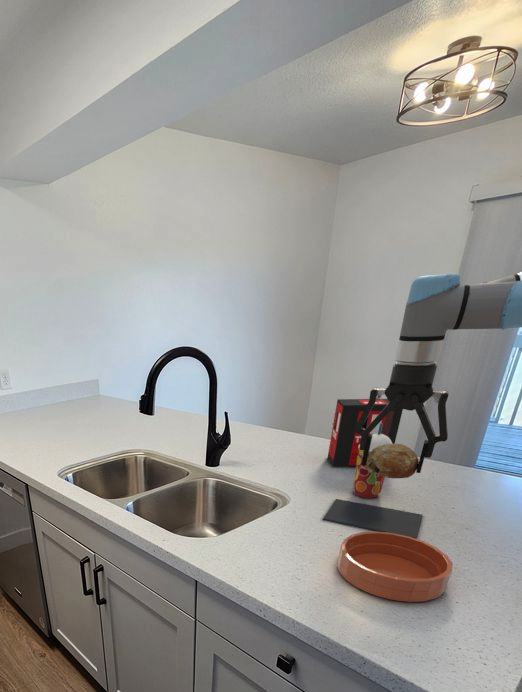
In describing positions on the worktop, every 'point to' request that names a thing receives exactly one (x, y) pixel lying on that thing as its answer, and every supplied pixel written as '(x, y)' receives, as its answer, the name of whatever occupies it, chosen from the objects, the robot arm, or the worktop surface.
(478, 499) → the worktop surface
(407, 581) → the bowl
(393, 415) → the cleaning product box
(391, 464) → the bread roll
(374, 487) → the smoothie
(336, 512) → the placemat
